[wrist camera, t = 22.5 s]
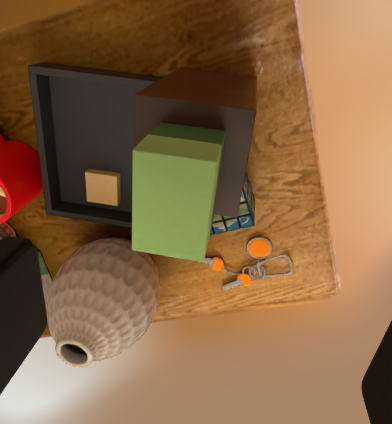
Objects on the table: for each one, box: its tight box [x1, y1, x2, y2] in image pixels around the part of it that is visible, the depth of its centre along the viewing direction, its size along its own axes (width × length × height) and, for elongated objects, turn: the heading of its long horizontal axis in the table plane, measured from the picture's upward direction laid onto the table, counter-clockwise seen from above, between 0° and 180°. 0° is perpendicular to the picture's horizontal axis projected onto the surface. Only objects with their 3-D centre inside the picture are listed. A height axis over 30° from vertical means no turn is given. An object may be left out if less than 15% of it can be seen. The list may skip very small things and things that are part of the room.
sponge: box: [132, 122, 226, 262], centre depth 23 cm, size 6×4×6 cm
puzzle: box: [210, 172, 255, 235], centre depth 40 cm, size 6×6×6 cm
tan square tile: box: [85, 169, 121, 206], centre depth 44 cm, size 4×4×1 cm
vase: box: [47, 237, 161, 367], centre depth 43 cm, size 13×13×17 cm
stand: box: [134, 67, 257, 218], centre depth 32 cm, size 8×8×16 cm
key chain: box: [203, 237, 293, 290], centre depth 47 cm, size 13×7×1 cm, turn 109°
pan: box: [28, 63, 163, 228], centre depth 41 cm, size 18×14×3 cm
